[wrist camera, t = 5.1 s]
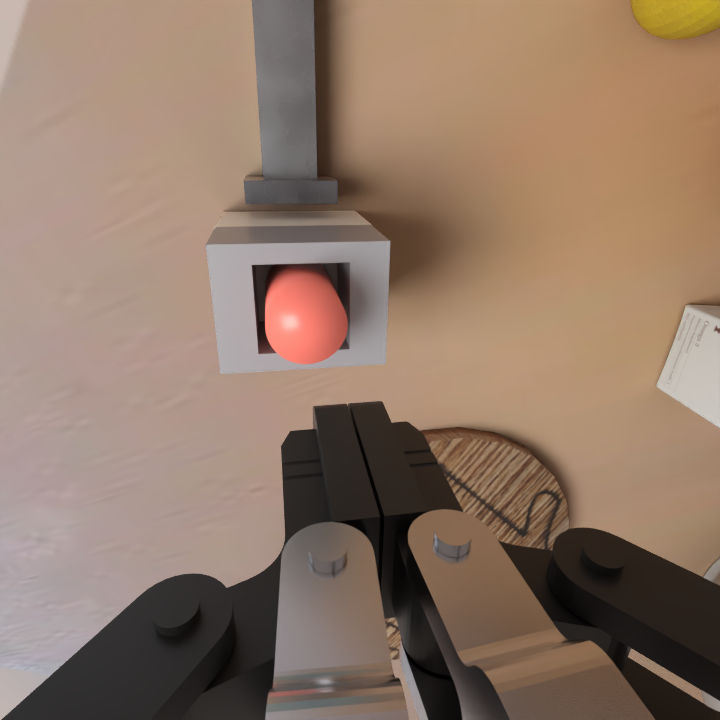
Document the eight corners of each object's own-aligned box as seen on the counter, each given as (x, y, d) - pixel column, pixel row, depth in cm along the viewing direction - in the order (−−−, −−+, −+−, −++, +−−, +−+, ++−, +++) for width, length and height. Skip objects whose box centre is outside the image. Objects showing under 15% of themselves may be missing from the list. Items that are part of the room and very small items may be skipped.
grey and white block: (223, 211, 30) (204, 244, 21) (354, 210, 31) (391, 241, 22) (232, 307, 32) (219, 374, 23) (354, 302, 33) (386, 363, 24)
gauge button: (263, 255, 25) (262, 288, 19) (330, 253, 25) (347, 285, 20) (267, 319, 26) (267, 366, 21) (331, 316, 27) (347, 361, 21)
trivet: (411, 370, 37) (418, 381, 35) (610, 502, 46) (623, 516, 44) (229, 591, 42) (228, 610, 41) (439, 668, 52) (445, 686, 50)
